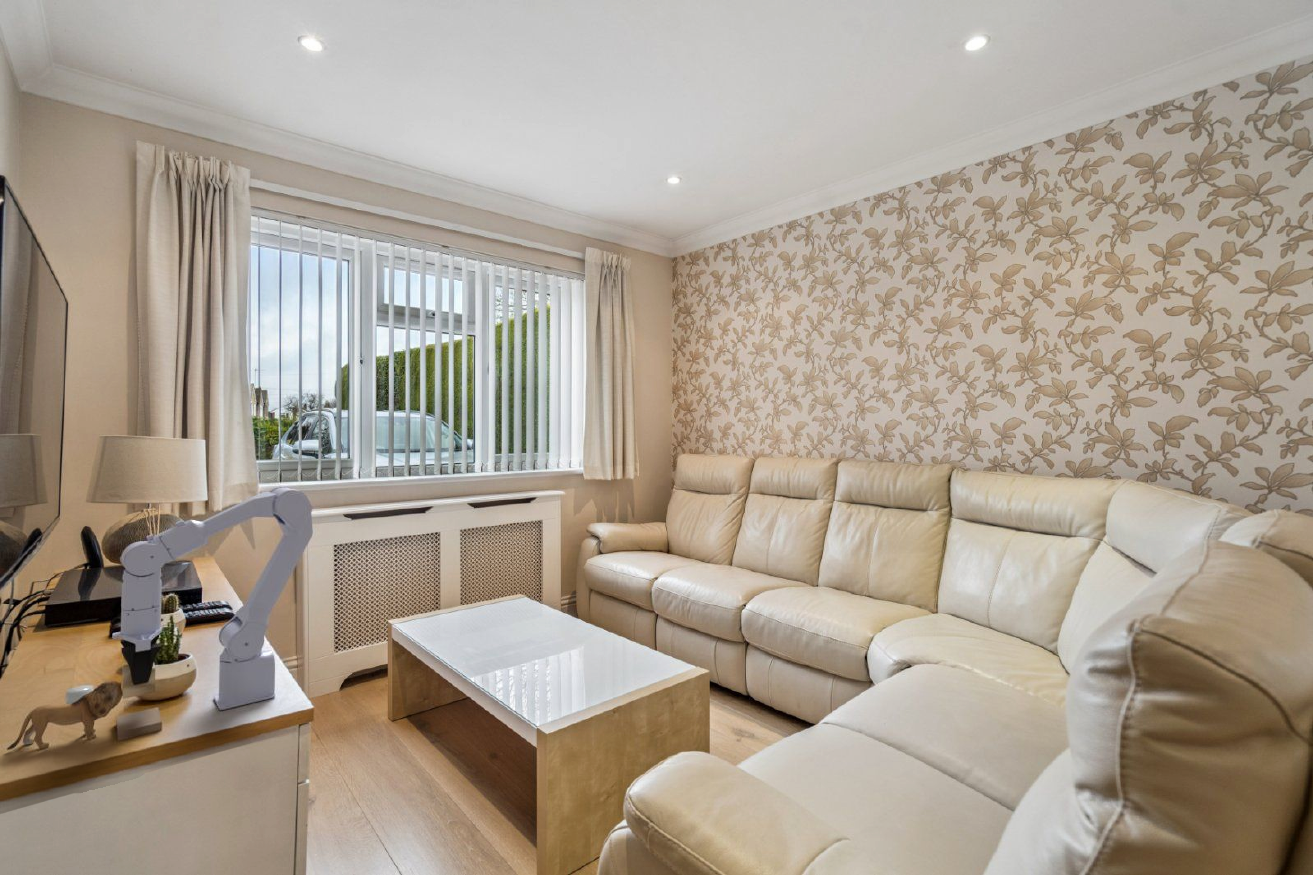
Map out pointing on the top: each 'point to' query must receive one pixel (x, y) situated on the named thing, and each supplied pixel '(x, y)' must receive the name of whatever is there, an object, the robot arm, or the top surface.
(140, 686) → the oak block
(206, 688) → the top surface
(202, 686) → the top surface
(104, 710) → the lion figurine
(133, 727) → the plinth
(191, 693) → the top surface
